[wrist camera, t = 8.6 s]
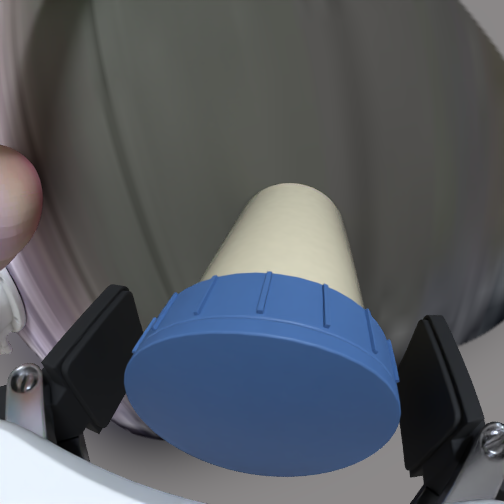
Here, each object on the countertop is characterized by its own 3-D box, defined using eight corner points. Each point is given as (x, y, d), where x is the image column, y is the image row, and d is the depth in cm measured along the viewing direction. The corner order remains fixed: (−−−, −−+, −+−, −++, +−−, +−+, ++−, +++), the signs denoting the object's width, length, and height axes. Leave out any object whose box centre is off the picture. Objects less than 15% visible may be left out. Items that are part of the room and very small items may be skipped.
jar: (330, 289, 17) (334, 462, 8) (233, 271, 18) (163, 429, 8) (355, 194, 14) (421, 349, 5) (243, 174, 15) (135, 296, 6)
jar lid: (374, 232, 5) (398, 287, 4) (393, 417, 8) (398, 464, 6) (110, 297, 7) (72, 342, 6) (213, 433, 10) (201, 473, 8)
